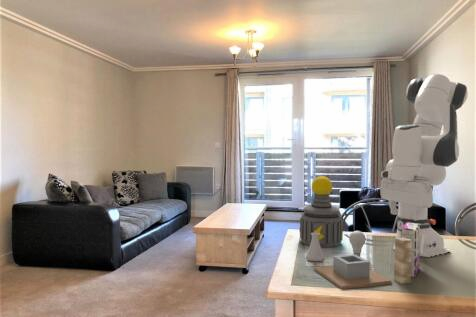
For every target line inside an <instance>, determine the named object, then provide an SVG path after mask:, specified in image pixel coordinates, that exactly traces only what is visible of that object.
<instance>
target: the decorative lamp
mask: <svg viewBox="0 0 476 317" xmlns="http://www.w3.org/2000/svg"><path fill="white" fill-rule="evenodd" d="M311 190H312V192H313V193H314V194H313V198H312V202H311V204H310V205H306V206H304V207H303V213H301V217H300V218H299V238H300V239H301V243H302V244H304V245H306V246H308V247H310V244H311V240H312V235H311V233H319V234H320V235H319V244H320V247H321V249H322V248H324V249H327V248H336V247H338V246H340V245H341V244H342V241H343V236H344V235H343V234H344V221H343V219H342V216H341V214H340V209H339V208H338V207H336V206H333V205H332V203H331V198H330V194H331V192H332V191H333V184H332V181H331V180H330V178H328V177H326V176H324V175H321V176H318V177H315V178H314V179H313V180H312V183H311Z"/></svg>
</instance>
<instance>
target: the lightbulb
mask: <svg viewBox="0 0 476 317" xmlns="http://www.w3.org/2000/svg"><path fill="white" fill-rule="evenodd" d="M366 239H367V238H366V235H365V233H363V231H360V230H354V231H352V232H351V233H350V234H349V236H348V240H349V243H350V244H351V248H352V255H353V254H355V255H357V256H359V257H361V255H362V254H361V253H362V249H363V247H364V245H365V244H366Z"/></svg>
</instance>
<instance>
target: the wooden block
mask: <svg viewBox="0 0 476 317" xmlns="http://www.w3.org/2000/svg"><path fill="white" fill-rule="evenodd" d="M394 239H395V241H394V244H395V250H394V264H393V265H394V267H393V269H394V270H393V271H394V272H393V280H394V281H396V282H397V283H399V284H401V283H403V284H411V278H412V277H411V249H412V240H410V239H407V238H405V237H402V238H396V237H395V238H394Z"/></svg>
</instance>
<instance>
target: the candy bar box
mask: <svg viewBox="0 0 476 317" xmlns="http://www.w3.org/2000/svg"><path fill="white" fill-rule="evenodd" d="M402 237H405V238H407V239H410V240H412V249H411V278H416V277H417V274H418V272H419V269H420V256H419V248H420V224H417V223H409V222H406V223H405V225H404V226H403V227H402V229H401V238H402Z"/></svg>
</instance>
